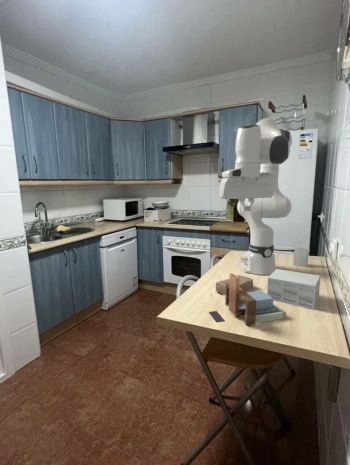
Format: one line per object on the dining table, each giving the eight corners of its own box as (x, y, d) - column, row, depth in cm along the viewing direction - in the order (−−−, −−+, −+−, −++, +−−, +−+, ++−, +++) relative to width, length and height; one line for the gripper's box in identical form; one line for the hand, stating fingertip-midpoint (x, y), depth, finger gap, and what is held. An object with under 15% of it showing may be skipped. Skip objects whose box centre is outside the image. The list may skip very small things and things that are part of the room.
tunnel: (225, 303, 98) (225, 282, 96) (232, 302, 99) (233, 282, 97) (246, 326, 82) (247, 301, 81) (255, 324, 83) (256, 300, 81)
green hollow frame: (236, 303, 98) (236, 299, 97) (262, 300, 100) (262, 295, 100) (256, 322, 84) (256, 316, 84) (285, 318, 87) (285, 312, 86)
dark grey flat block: (208, 312, 91) (208, 311, 91) (216, 311, 92) (216, 310, 92) (216, 322, 85) (216, 321, 85) (224, 321, 85) (224, 320, 85)
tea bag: (306, 267, 140) (307, 249, 138) (293, 265, 144) (294, 248, 142) (307, 265, 142) (309, 248, 141) (294, 263, 146) (295, 246, 145)
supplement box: (319, 297, 103) (321, 275, 101) (314, 310, 92) (316, 285, 90) (275, 288, 112) (276, 267, 111) (266, 299, 102) (267, 276, 100)
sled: (225, 305, 95) (225, 271, 93) (258, 301, 98) (259, 267, 96) (239, 320, 84) (240, 281, 82) (275, 315, 87) (278, 277, 85)
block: (241, 308, 94) (242, 293, 93) (261, 305, 96) (261, 290, 95) (252, 317, 88) (252, 301, 87) (272, 314, 90) (273, 298, 89)
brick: (238, 282, 120) (238, 273, 119) (254, 287, 113) (254, 277, 113) (214, 292, 109) (214, 282, 109) (230, 298, 103) (230, 287, 102)
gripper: (268, 172, 97) (266, 209, 100) (217, 172, 93) (217, 211, 95) (278, 171, 91) (276, 210, 94) (225, 171, 87) (224, 212, 89)
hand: (246, 210), depth 94 cm, fingers closed
